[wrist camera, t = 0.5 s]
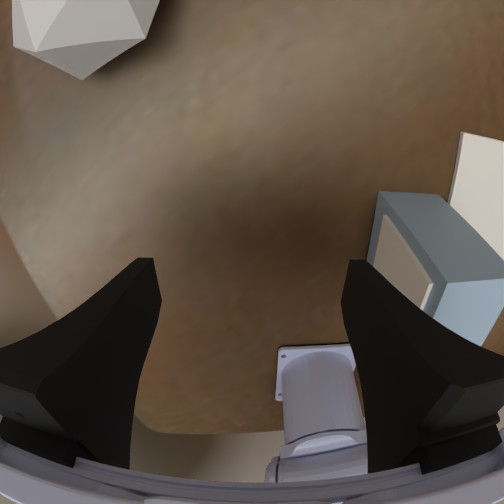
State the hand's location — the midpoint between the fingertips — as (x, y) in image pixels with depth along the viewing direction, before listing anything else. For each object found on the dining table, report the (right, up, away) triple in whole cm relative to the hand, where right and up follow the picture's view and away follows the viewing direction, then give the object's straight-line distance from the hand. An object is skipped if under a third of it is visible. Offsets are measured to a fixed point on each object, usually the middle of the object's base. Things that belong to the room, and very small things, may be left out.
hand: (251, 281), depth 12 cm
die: (-8, +16, +2) cm, 18 cm away
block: (+11, +3, +10) cm, 15 cm away
